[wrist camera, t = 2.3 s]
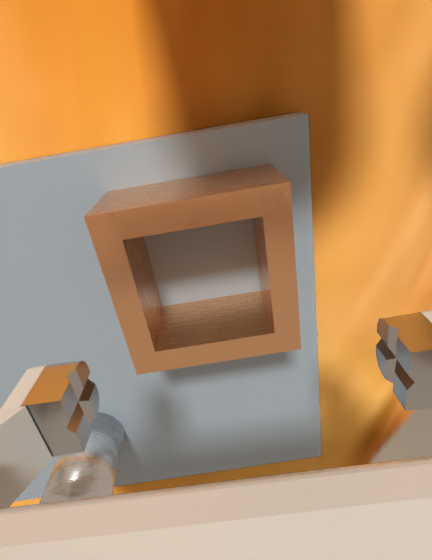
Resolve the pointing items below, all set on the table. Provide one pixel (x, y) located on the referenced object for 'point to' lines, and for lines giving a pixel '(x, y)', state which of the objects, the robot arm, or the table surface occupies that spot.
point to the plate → (173, 290)
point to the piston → (88, 464)
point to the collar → (210, 312)
